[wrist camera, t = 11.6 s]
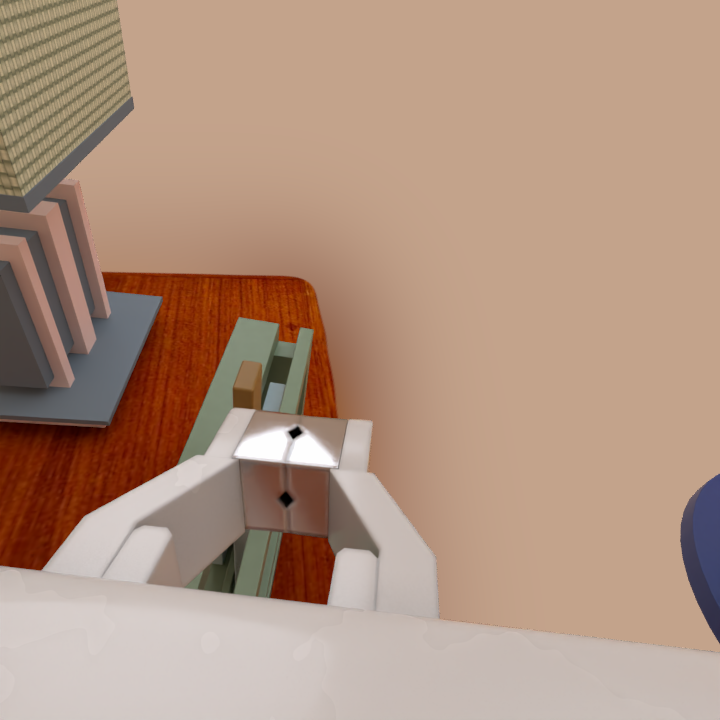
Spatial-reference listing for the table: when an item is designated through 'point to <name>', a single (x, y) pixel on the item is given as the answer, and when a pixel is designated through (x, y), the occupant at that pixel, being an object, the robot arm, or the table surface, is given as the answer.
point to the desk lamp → (60, 216)
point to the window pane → (250, 398)
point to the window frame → (277, 367)
